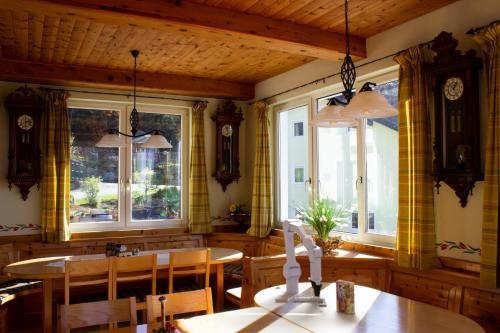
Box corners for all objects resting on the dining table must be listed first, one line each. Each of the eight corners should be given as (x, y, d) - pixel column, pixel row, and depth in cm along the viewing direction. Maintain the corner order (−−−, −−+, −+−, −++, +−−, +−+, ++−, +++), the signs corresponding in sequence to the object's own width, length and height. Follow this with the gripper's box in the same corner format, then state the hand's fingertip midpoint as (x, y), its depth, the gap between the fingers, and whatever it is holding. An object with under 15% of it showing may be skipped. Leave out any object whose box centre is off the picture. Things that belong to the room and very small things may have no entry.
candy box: (355, 312, 215) (354, 282, 216) (350, 314, 213) (349, 283, 213) (341, 308, 222) (340, 279, 223) (336, 310, 219) (335, 280, 220)
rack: (292, 299, 240) (292, 294, 240) (324, 299, 238) (324, 294, 238) (292, 306, 228) (292, 300, 228) (326, 306, 226) (326, 301, 226)
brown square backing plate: (275, 300, 239) (275, 298, 239) (288, 300, 238) (287, 298, 238) (274, 304, 231) (274, 302, 231) (287, 304, 230) (287, 303, 230)
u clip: (311, 295, 235) (311, 287, 236) (318, 295, 235) (318, 287, 236) (313, 298, 230) (312, 289, 230) (320, 298, 230) (320, 289, 230)
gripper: (306, 267, 240) (307, 291, 240) (310, 273, 226) (310, 298, 226) (319, 266, 240) (319, 291, 240) (323, 272, 226) (324, 298, 226)
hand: (316, 294), depth 233 cm, fingers closed on u clip, 5 cm apart
